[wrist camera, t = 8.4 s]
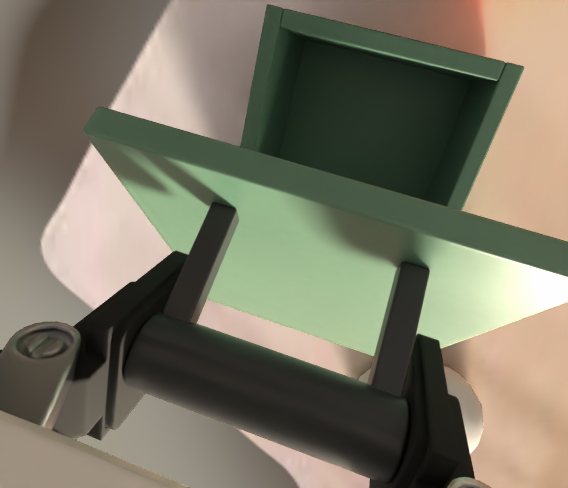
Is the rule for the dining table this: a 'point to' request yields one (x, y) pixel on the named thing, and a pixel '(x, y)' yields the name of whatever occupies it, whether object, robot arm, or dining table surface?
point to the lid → (311, 287)
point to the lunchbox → (375, 105)
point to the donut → (468, 404)
